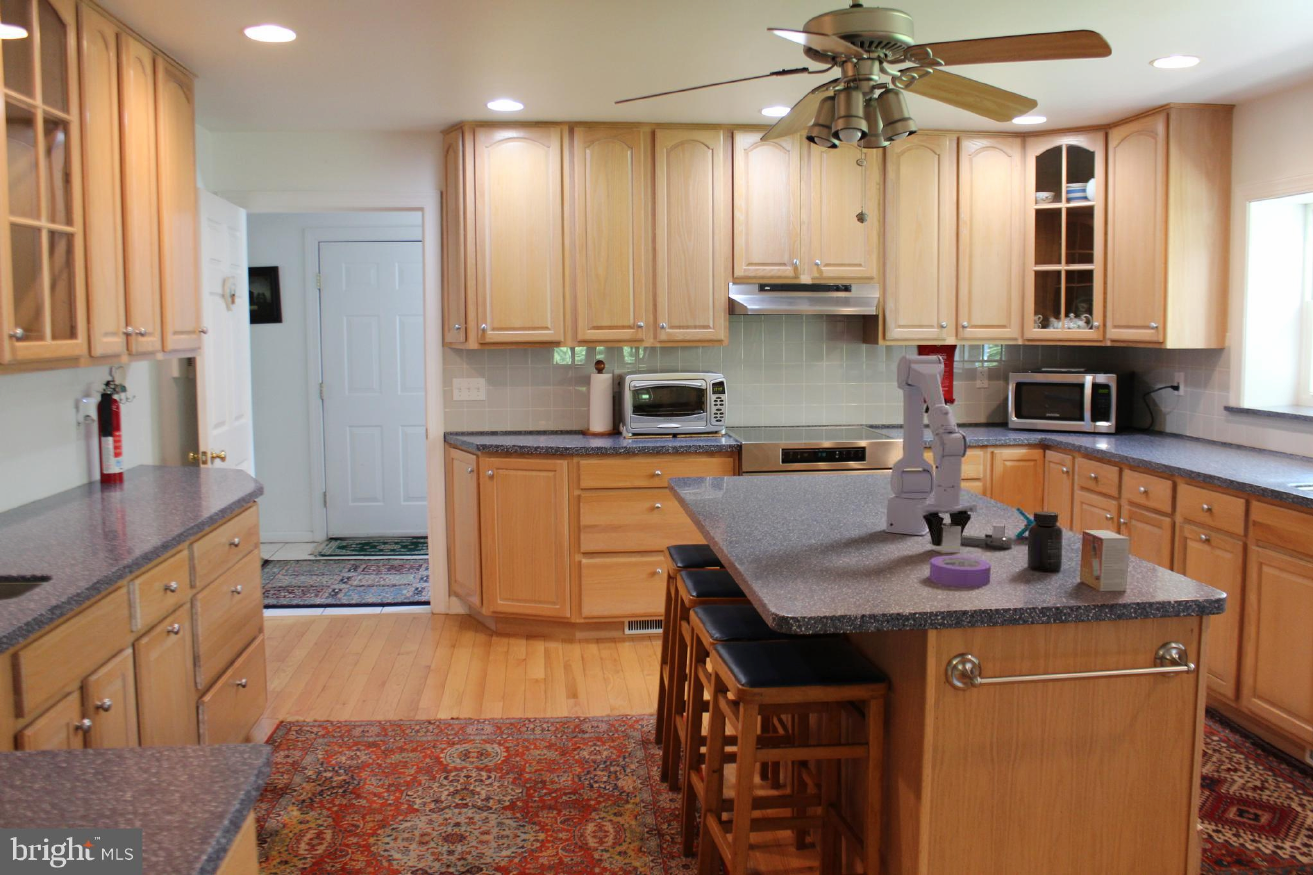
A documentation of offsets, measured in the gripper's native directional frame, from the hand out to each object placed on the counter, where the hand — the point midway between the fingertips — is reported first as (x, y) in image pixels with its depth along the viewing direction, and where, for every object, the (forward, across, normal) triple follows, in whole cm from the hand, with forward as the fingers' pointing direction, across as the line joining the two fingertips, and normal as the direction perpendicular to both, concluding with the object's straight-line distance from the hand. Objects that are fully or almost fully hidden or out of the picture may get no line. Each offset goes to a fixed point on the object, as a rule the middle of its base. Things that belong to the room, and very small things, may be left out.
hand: (945, 544), depth 230 cm
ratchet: (+1, +10, +4) cm, 11 cm away
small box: (+2, +11, -37) cm, 39 cm away
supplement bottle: (+2, +10, -21) cm, 23 cm away
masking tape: (+2, -13, -24) cm, 27 cm away
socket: (+1, 0, 0) cm, 1 cm away
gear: (+2, +28, +6) cm, 29 cm away
